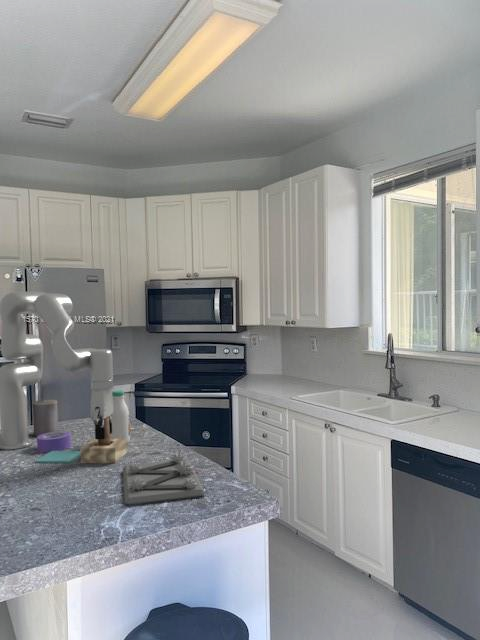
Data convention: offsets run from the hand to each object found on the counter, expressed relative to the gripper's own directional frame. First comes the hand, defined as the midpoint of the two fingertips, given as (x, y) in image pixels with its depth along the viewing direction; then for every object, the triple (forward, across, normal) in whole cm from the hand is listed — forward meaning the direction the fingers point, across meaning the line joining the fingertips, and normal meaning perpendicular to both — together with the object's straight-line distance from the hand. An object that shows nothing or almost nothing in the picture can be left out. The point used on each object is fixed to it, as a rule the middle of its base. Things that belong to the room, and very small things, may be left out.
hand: (103, 435), depth 174 cm
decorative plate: (+8, +24, +26) cm, 37 cm away
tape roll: (+8, -12, -24) cm, 28 cm away
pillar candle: (+8, -32, -37) cm, 50 cm away
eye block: (+8, 0, 0) cm, 8 cm away
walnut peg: (+8, 0, 0) cm, 8 cm away
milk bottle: (+8, -19, -1) cm, 21 cm away
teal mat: (+8, 0, -16) cm, 18 cm away
